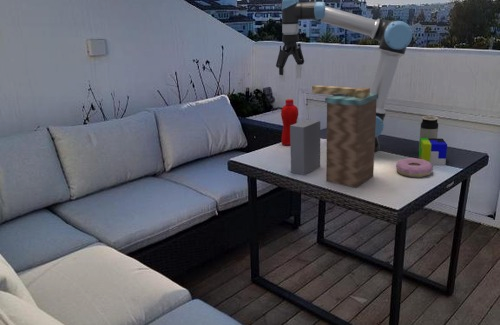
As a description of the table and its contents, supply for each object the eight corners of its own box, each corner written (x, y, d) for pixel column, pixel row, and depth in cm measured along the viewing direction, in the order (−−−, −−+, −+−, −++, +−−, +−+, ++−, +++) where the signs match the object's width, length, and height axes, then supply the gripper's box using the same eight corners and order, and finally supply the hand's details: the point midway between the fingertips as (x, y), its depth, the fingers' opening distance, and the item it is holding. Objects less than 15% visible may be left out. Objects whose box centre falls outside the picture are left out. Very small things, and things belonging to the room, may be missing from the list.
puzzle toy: (445, 165, 200) (447, 144, 197) (422, 165, 202) (423, 144, 199) (440, 158, 209) (442, 138, 206) (418, 158, 211) (420, 138, 208)
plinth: (291, 172, 201) (290, 125, 194) (307, 164, 211) (307, 119, 204) (303, 175, 197) (303, 127, 190) (320, 166, 207) (320, 120, 200)
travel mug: (427, 156, 213) (430, 120, 207) (415, 152, 220) (417, 117, 214) (439, 153, 216) (442, 118, 210) (427, 149, 223) (430, 115, 217)
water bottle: (299, 141, 250) (299, 97, 242) (297, 146, 240) (296, 101, 232) (283, 140, 252) (282, 97, 244) (280, 146, 242) (279, 101, 234)
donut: (400, 165, 204) (400, 155, 202) (435, 169, 196) (436, 159, 194) (391, 176, 191) (392, 165, 190) (428, 181, 184) (429, 169, 182)
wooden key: (309, 94, 187) (309, 86, 186) (318, 91, 192) (318, 84, 191) (361, 98, 172) (362, 90, 171) (369, 95, 177) (370, 87, 176)
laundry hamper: (324, 181, 188) (325, 95, 177) (343, 170, 201) (345, 88, 189) (356, 188, 179) (359, 98, 167) (374, 176, 191) (378, 91, 180)
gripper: (298, 32, 214) (298, 76, 221) (267, 35, 196) (268, 83, 203) (311, 32, 210) (311, 77, 216) (281, 35, 192) (281, 84, 198)
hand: (290, 80), depth 210 cm, fingers open, 13 cm apart
